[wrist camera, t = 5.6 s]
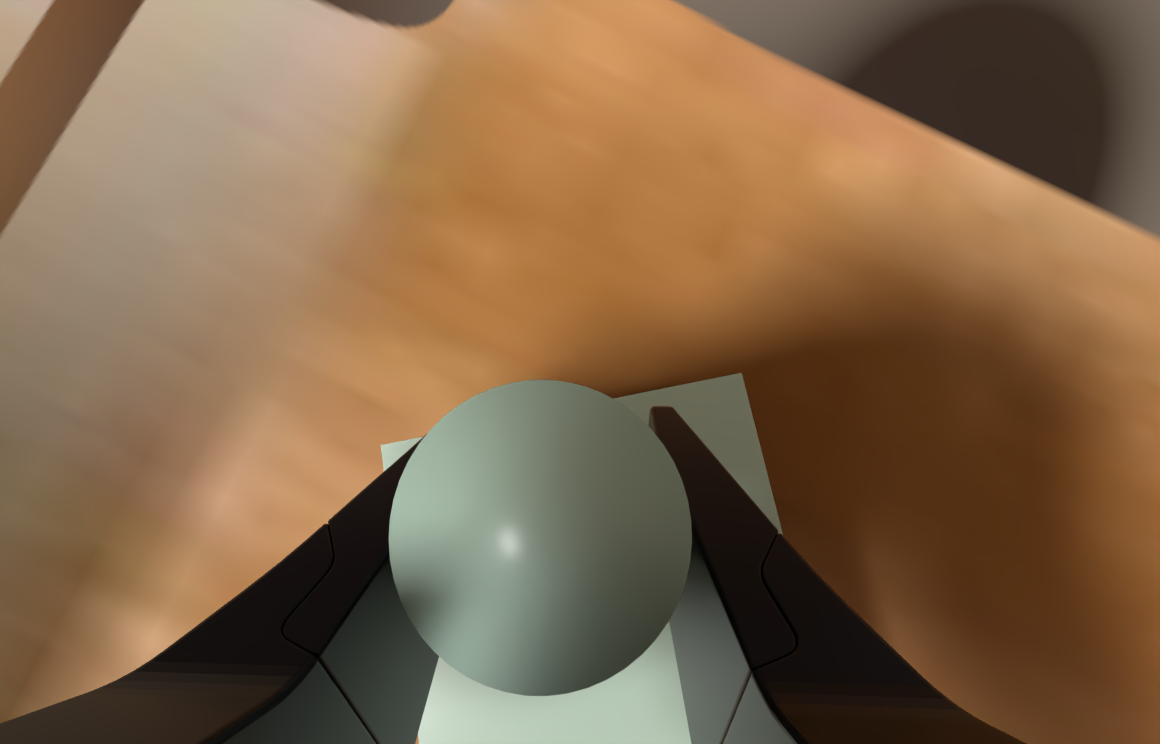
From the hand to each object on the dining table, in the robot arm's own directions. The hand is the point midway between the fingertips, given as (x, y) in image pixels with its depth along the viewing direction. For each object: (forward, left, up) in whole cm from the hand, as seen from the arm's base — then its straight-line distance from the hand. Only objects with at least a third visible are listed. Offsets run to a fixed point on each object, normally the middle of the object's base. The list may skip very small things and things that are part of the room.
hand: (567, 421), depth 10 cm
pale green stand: (0, -6, -5) cm, 8 cm away
